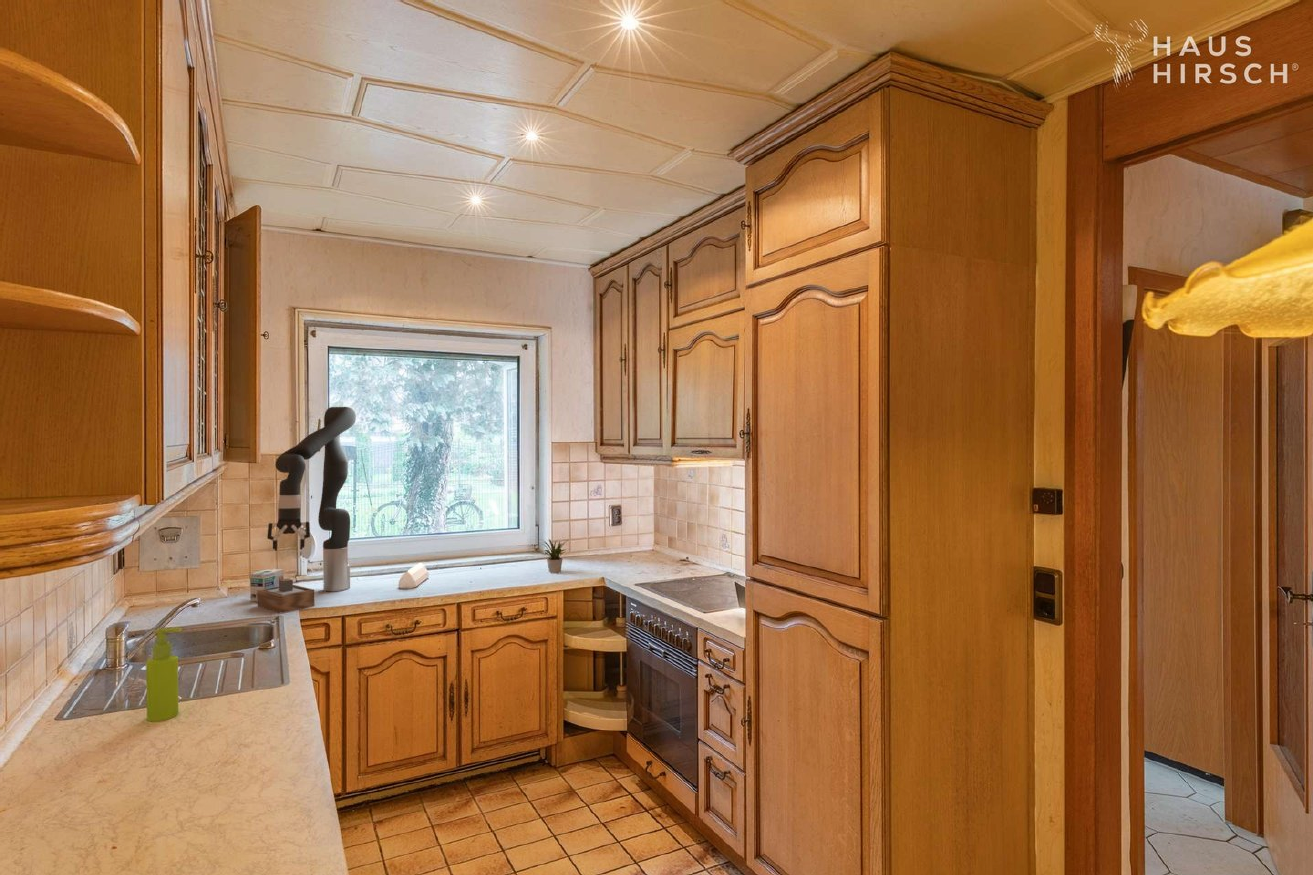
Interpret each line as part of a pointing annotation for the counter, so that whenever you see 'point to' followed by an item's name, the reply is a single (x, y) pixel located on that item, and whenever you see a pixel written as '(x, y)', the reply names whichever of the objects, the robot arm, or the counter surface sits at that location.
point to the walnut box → (285, 599)
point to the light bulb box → (264, 581)
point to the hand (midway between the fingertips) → (288, 549)
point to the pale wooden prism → (413, 576)
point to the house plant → (554, 557)
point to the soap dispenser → (162, 679)
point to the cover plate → (276, 591)
